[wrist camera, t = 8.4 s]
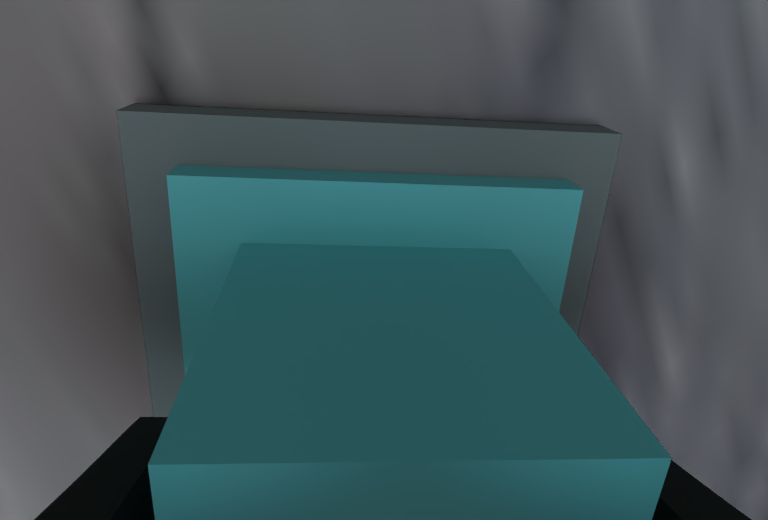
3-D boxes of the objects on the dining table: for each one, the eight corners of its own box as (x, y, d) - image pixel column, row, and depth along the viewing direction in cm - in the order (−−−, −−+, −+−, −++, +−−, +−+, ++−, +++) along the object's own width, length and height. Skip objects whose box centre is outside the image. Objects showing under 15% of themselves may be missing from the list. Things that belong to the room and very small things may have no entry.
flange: (568, 179, 12) (827, 354, 6) (512, 473, 15) (640, 796, 9) (177, 165, 11) (-23, 349, 5) (203, 477, 14) (101, 836, 8)
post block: (600, 126, 12) (754, 186, 8) (529, 474, 16) (605, 650, 12) (133, 103, 12) (1, 157, 7) (174, 479, 15) (107, 674, 11)
